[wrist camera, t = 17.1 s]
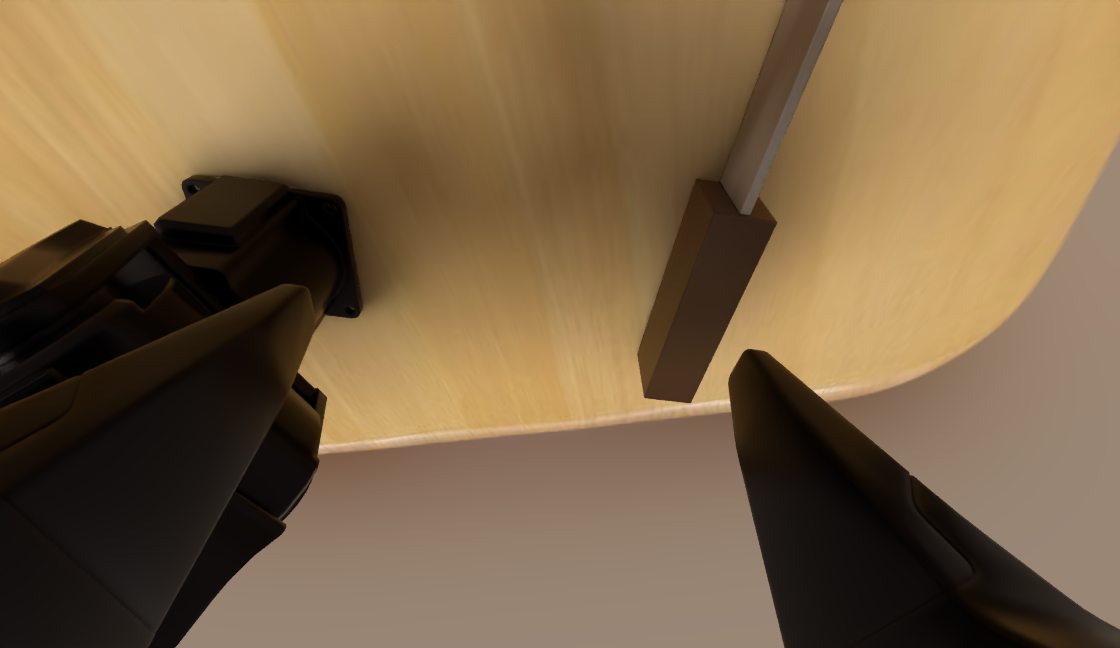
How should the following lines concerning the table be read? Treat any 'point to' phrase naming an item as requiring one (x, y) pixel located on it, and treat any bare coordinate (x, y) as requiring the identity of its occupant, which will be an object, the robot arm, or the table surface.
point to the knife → (729, 217)
